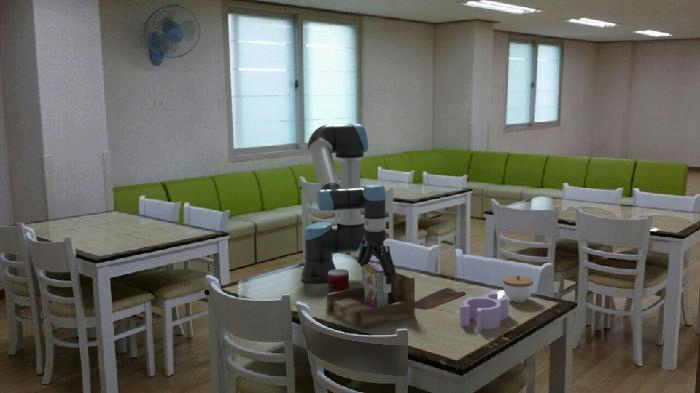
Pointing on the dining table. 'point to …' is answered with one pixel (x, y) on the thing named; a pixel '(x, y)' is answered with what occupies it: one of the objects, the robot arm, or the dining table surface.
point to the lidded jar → (518, 288)
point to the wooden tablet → (437, 298)
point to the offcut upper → (350, 307)
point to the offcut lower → (347, 317)
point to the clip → (484, 311)
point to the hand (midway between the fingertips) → (376, 288)
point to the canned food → (338, 280)
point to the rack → (397, 308)
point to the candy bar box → (374, 286)
